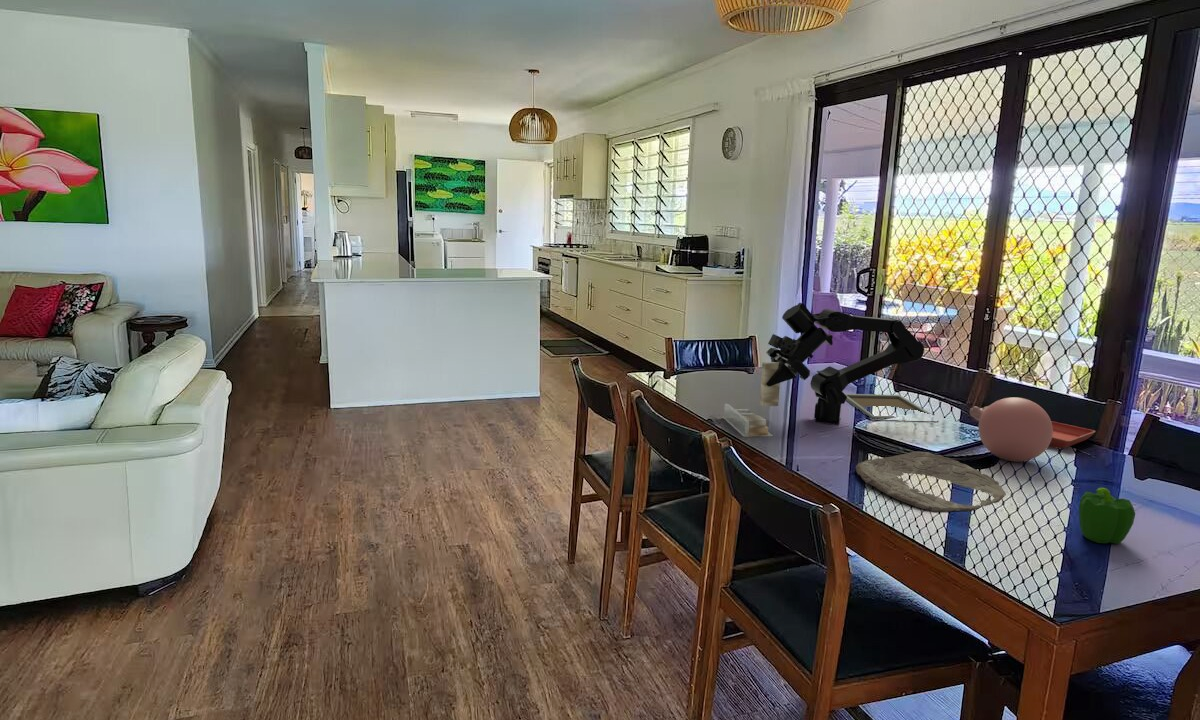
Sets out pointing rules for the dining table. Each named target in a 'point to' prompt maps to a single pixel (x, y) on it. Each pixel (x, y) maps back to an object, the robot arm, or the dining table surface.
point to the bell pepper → (1105, 517)
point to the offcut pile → (756, 424)
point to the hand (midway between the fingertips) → (765, 384)
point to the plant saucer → (1068, 435)
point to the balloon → (1014, 428)
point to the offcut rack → (739, 420)
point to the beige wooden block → (770, 394)
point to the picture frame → (880, 402)
